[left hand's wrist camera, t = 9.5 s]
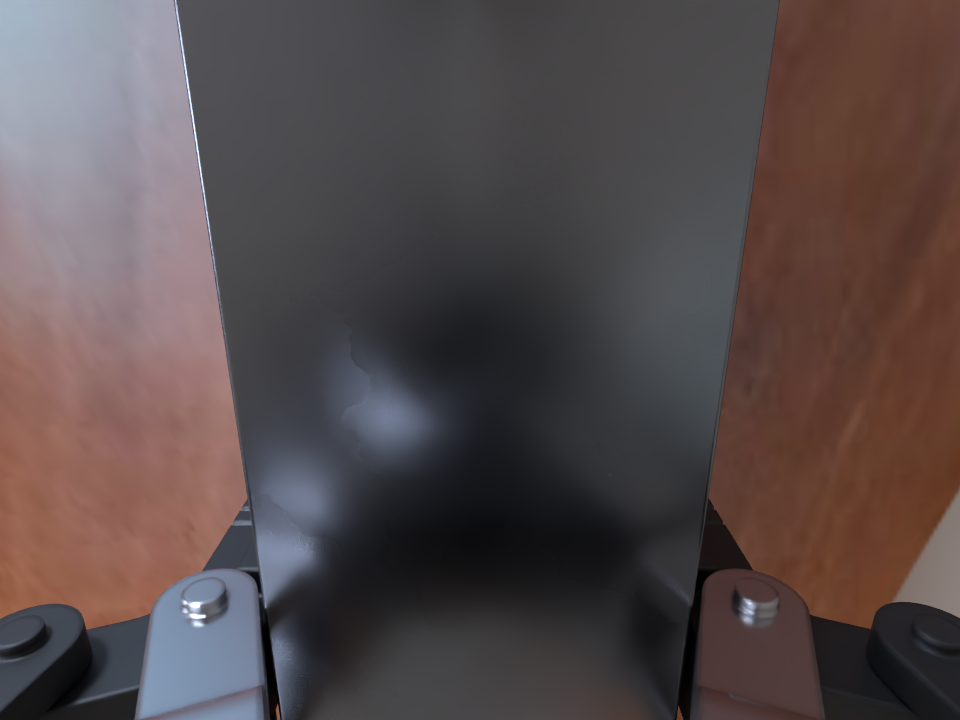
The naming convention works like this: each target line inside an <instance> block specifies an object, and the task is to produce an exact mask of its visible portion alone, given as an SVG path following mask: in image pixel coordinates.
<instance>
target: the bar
mask: <svg viewBox="0 0 960 720" xmlns="http://www.w3.org/2000/svg"><path fill="white" fill-rule="evenodd" d="M779 3H780V0H174V4H175V11H176V18H177V25H178V31H179V38H180V45H181V52H182V58H183V65H184V72H185V79H186V85H187V92H188V99H189V106H190V112H191V119H192V126H193V133H194V139H195V146H196V153H197V160H198V166H199V173H200V180H201V187H202V193H203V200H204V207H205V214H206V220H207V227H208V234H209V240H210V247H211V254H212V261H213V267H214V274H215V281H216V288H217V294H218V301H219V308H220V315H221V321H222V328H223V335H224V342H225V348H226V355H227V362H228V369H229V375H230V382H231V389H232V396H233V402H234V409H235V416H236V423H237V429H238V436H239V443H240V450H241V456H242V463H243V470H244V477H245V483H246V490H247V497H248V504H249V510H250V517H251V524H252V531H253V537H254V544H255V551H256V558H257V564H258V571H259V578H260V585H261V591H262V598H263V605H264V612H265V618H266V625H267V632H268V639H269V645H270V652H271V659H272V666H273V672H274V679H275V686H276V693H277V699H278V706H279V713H280V720H676V718H677V711H678V704H679V697H680V691H681V684H682V677H683V670H684V663H685V656H686V649H687V642H688V635H689V628H690V621H691V614H692V607H693V600H694V593H695V586H696V579H697V572H698V565H699V559H700V552H701V545H702V538H703V531H704V524H705V517H706V510H707V503H708V496H709V489H710V482H711V475H712V468H713V461H714V454H715V447H716V440H717V433H718V426H719V420H720V413H721V406H722V399H723V392H724V385H725V378H726V371H727V364H728V357H729V350H730V343H731V336H732V329H733V322H734V315H735V308H736V301H737V294H738V287H739V281H740V274H741V267H742V260H743V253H744V246H745V239H746V232H747V225H748V218H749V211H750V204H751V197H752V190H753V183H754V176H755V169H756V162H757V155H758V148H759V142H760V135H761V128H762V121H763V114H764V107H765V100H766V93H767V86H768V79H769V72H770V65H771V58H772V51H773V44H774V37H775V30H776V23H777V16H778V10H779Z"/></svg>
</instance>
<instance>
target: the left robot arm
mask: <svg viewBox="0 0 960 720" xmlns="http://www.w3.org/2000/svg"><path fill="white" fill-rule="evenodd" d="M277 704H278V699H277V693H276V686H275V679H274V672H273V666H272V659H271V652H270V645H269V639H268V632H267V625H266V618H265V612H264V605H263V598H262V591H261V585H260V578H259V571H258V564H257V558H256V551H255V544H254V537H253V531H252V524H251V517H250V510H249V504H248V499H247V501H246V502H245V504H244V505H243V507H242V511H240V512H239V513H238V515H237V517H236V518H235V520H234V521H233V526H230V528H229V529H228V531H227V533H226V534H225V536H224V537H223V539H222V540H221V542H220V544H219V545H218V547H217V548H216V550H215V552H214V553H213V555H212V556H211V558H210V560H209V561H208V563H207V564H206V566H205V568H204V569H203V571H202V572H199V573H196V574H193V575H191V576H188V577H186V578H184V579H182V580H180V581H178V582H177V583H175V584H173V585H172V586H171V587H169V588H168V589H167V590H165V591H164V592H163V593H162V594H161V595H160V596H159V598H158V599H157V600H156V601H155V603H154V605H153V607H152V610H151V613H150V614H148V615H146V616H143V617H140V618H136V619H132V620H128V621H124V622H120V623H115V624H111V625H106V626H102V627H97V628H93V629H88V630H86V627H85V623H84V619H83V617H82V614H81V613H80V612H79V611H78V610H77V609H75V608H74V607H71V606H68V605H63V604H47V605H39V606H35V607H30V608H27V609H24V610H20V611H17V612H15V613H12V614H10V615H7V616H5V617H3V618H1V619H0V720H277V715H276V707H277ZM678 705H679V708H680V711H681V713H682V716H683V720H960V618H958V617H956V616H954V615H952V614H950V613H947V612H945V611H943V610H940V609H937V608H934V607H931V606H927V605H923V604H918V603H910V602H896V603H890V604H887V605H884V606H882V607H881V608H879V610H878V611H877V612H876V614H875V616H874V620H873V624H872V627H871V629H867V628H863V627H858V626H854V625H850V624H845V623H841V622H836V621H832V620H827V619H823V618H819V617H816V616H813V615H810V613H809V610H808V607H807V605H806V603H805V602H804V600H803V599H802V598H801V596H800V595H799V594H798V593H797V592H796V591H795V590H793V589H792V588H791V587H789V586H788V585H787V584H785V583H783V582H782V581H780V580H778V579H776V578H774V577H772V576H769V575H767V574H764V573H761V572H757V571H753V569H752V567H751V566H750V564H749V563H748V561H747V559H746V558H745V556H744V555H743V553H742V551H741V550H740V548H739V546H738V545H737V543H736V542H735V540H734V538H733V537H732V535H731V534H730V532H729V530H728V529H727V527H726V525H723V521H722V519H721V517H720V516H719V514H718V513H717V511H716V510H714V506H713V505H712V503H711V501H710V500H709V498H708V503H707V510H706V517H705V524H704V531H703V538H702V545H701V552H700V559H699V565H698V572H697V579H696V586H695V593H694V600H693V607H692V614H691V621H690V628H689V635H688V642H687V649H686V656H685V663H684V670H683V677H682V684H681V691H680V697H679V704H678Z"/></svg>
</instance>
